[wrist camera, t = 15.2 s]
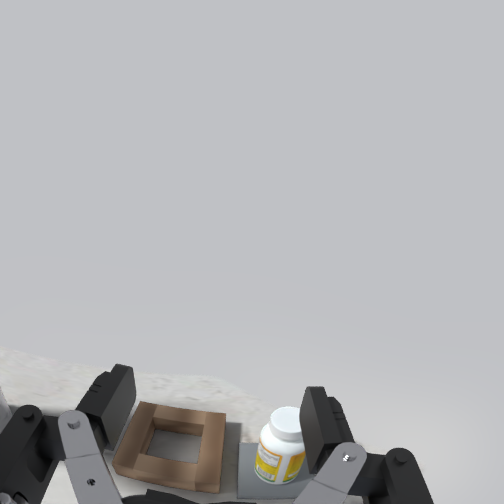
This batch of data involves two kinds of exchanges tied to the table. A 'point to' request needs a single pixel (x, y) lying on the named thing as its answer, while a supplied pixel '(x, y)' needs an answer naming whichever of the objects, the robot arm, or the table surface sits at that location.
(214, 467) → the socket block
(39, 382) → the table surface
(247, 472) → the rubber mat
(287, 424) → the supplement bottle
